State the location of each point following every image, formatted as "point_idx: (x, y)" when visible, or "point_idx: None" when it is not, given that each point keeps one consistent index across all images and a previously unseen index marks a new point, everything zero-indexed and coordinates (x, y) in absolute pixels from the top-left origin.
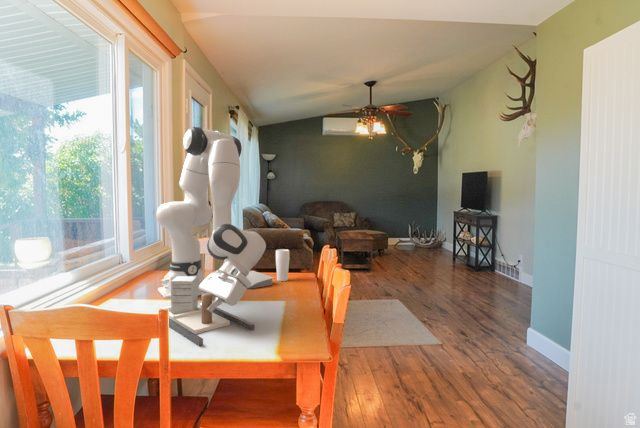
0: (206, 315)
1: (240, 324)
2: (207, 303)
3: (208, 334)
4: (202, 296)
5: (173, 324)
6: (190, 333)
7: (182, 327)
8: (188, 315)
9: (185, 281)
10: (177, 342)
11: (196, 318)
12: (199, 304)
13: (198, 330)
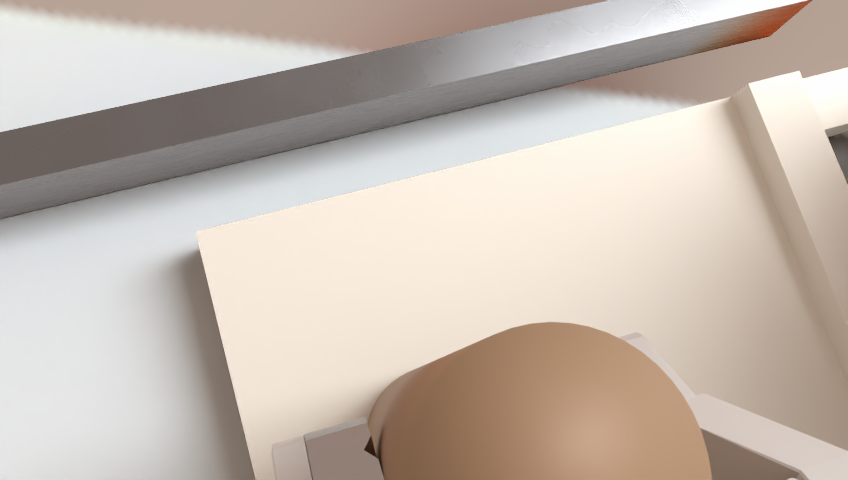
0: (375, 424)
1: None
2: (387, 458)
3: (137, 401)
4: (482, 340)
5: (482, 30)
6: (26, 143)
7: (302, 96)
8: (798, 259)
9: None
10: (78, 42)
11: (648, 335)
12: (639, 337)
13: (210, 284)
